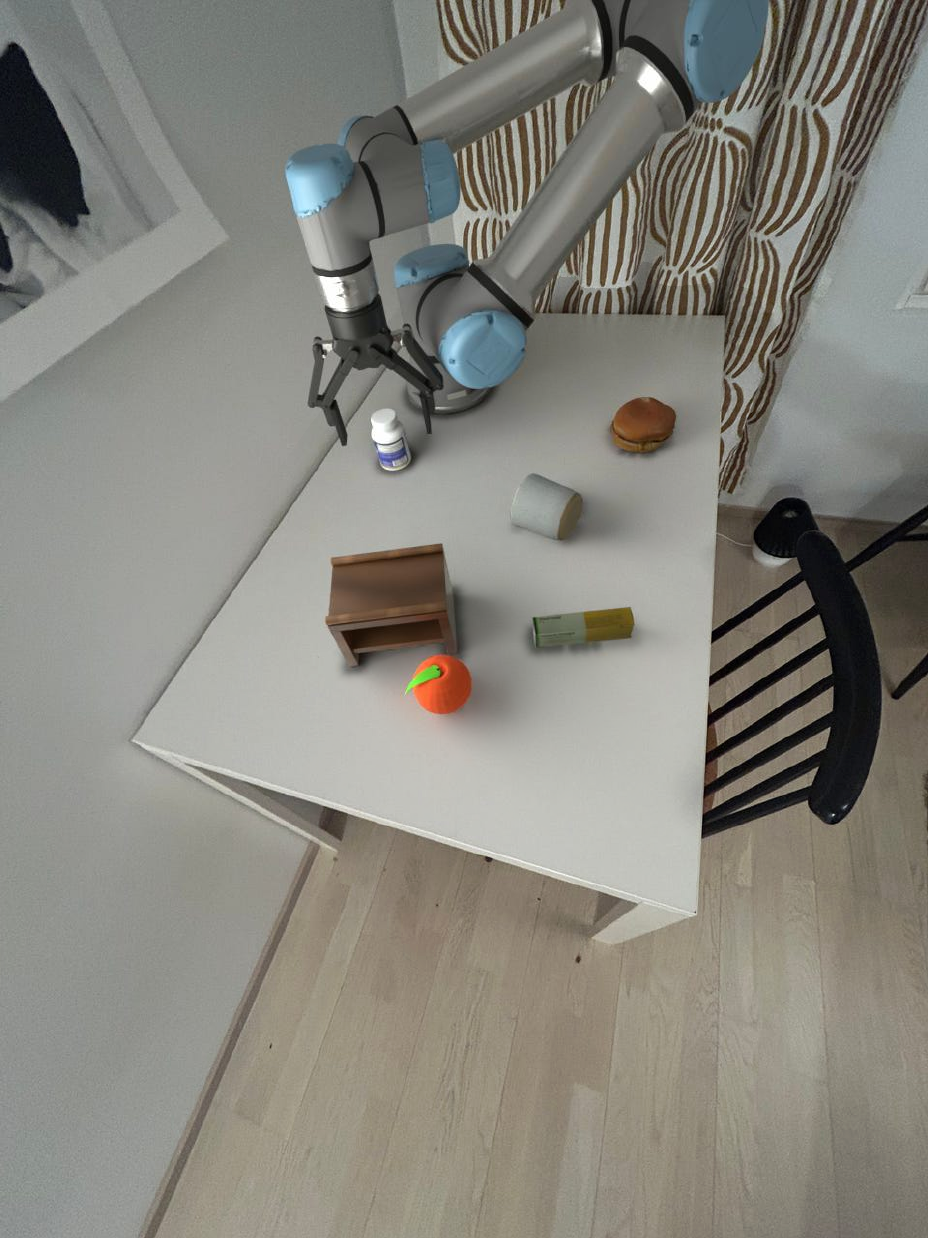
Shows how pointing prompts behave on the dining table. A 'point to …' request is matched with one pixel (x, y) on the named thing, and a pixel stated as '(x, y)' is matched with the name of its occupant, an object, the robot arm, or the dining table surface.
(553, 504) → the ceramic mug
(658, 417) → the burger
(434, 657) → the clementine
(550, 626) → the medication box
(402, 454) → the pill bottle
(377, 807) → the dining table surface
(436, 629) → the stand
